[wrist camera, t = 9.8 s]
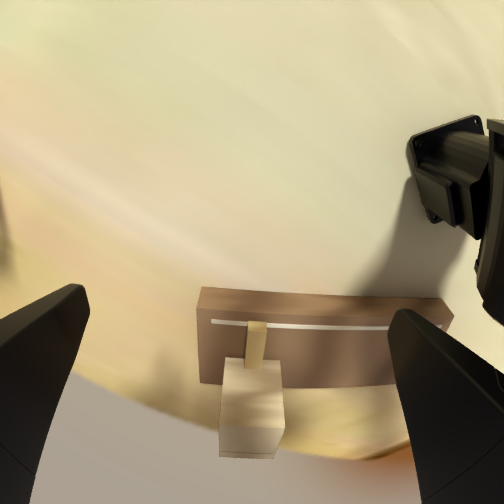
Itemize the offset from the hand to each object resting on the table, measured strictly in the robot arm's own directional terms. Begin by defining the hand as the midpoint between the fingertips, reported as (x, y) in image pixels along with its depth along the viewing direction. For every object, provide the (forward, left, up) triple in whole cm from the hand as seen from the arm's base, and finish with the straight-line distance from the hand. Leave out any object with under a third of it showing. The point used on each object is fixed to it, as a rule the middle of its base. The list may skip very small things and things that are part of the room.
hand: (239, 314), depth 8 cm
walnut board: (-1, +14, -12) cm, 18 cm away
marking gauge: (+5, +11, -11) cm, 17 cm away
